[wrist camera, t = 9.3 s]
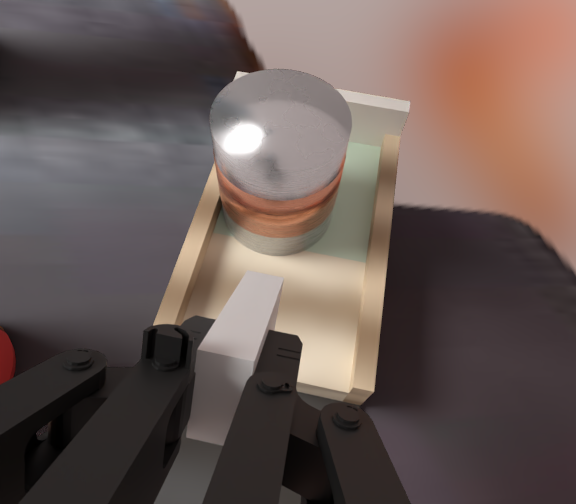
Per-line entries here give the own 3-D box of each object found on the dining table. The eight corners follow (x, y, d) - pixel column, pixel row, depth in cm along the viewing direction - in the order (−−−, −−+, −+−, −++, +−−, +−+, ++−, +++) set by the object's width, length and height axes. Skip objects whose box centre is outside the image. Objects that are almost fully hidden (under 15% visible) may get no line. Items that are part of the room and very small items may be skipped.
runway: (284, 1042, 17) (290, 1207, 13) (-40, 940, 18) (-127, 1067, 14) (386, 173, 38) (400, 136, 34) (238, 146, 39) (235, 107, 35)
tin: (205, 189, 33) (186, 92, 25) (298, 153, 35) (308, 53, 27) (252, 274, 30) (247, 194, 22) (352, 229, 32) (381, 140, 24)
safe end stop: (373, 284, 33) (397, 236, 27) (202, 250, 34) (187, 195, 28) (387, 163, 39) (410, 101, 33) (241, 136, 40) (237, 71, 34)
